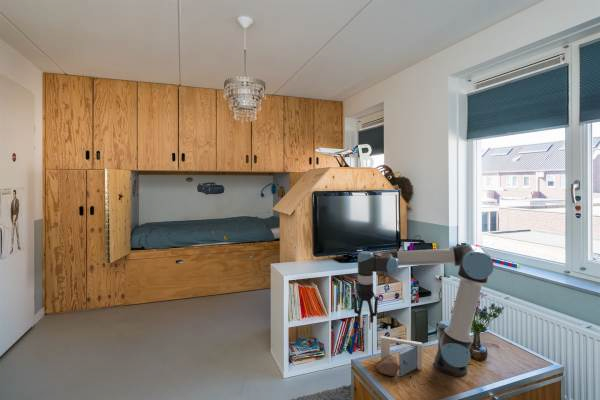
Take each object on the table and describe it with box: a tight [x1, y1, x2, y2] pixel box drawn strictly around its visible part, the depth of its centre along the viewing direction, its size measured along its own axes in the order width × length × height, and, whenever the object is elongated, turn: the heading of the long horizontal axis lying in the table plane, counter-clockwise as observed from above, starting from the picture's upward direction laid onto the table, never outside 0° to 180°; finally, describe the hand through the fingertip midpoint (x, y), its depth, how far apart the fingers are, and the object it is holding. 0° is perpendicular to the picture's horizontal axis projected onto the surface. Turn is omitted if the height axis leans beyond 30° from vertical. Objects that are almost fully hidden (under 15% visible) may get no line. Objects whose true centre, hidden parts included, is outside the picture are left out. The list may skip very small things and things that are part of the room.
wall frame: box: [380, 335, 423, 371], centre depth 159 cm, size 20×2×13 cm, turn 68°
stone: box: [375, 354, 400, 377], centre depth 154 cm, size 12×9×10 cm
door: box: [398, 345, 418, 377], centre depth 152 cm, size 13×3×12 cm, turn 123°
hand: (365, 327), depth 157 cm, fingers open, 4 cm apart
